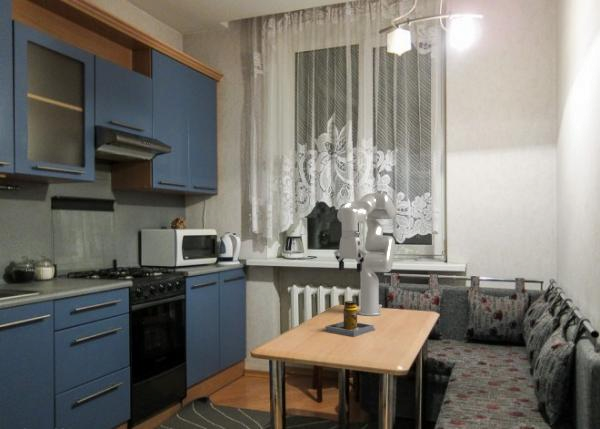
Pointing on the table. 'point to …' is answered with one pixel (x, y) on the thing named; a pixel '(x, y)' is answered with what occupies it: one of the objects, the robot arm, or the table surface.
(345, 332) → the dock
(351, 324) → the condiment
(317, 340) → the table surface
